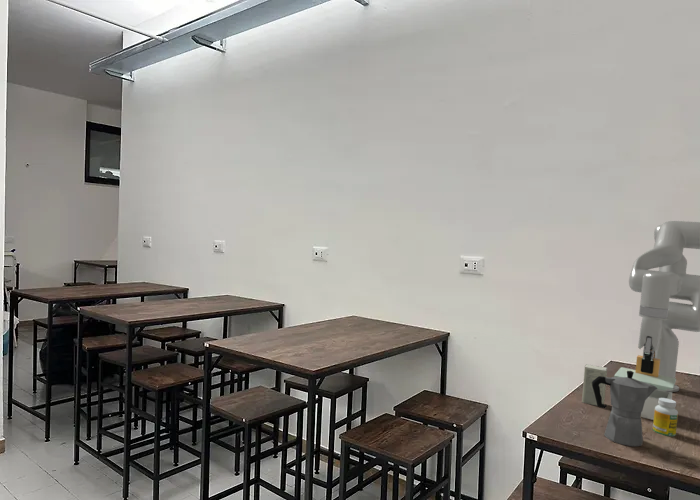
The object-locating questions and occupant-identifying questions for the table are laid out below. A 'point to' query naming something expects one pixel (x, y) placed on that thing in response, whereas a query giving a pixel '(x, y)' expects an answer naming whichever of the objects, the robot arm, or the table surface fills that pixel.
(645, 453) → the table surface
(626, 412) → the coffeepot
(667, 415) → the supplement bottle
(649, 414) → the tub
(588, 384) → the skincare box
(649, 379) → the lid
